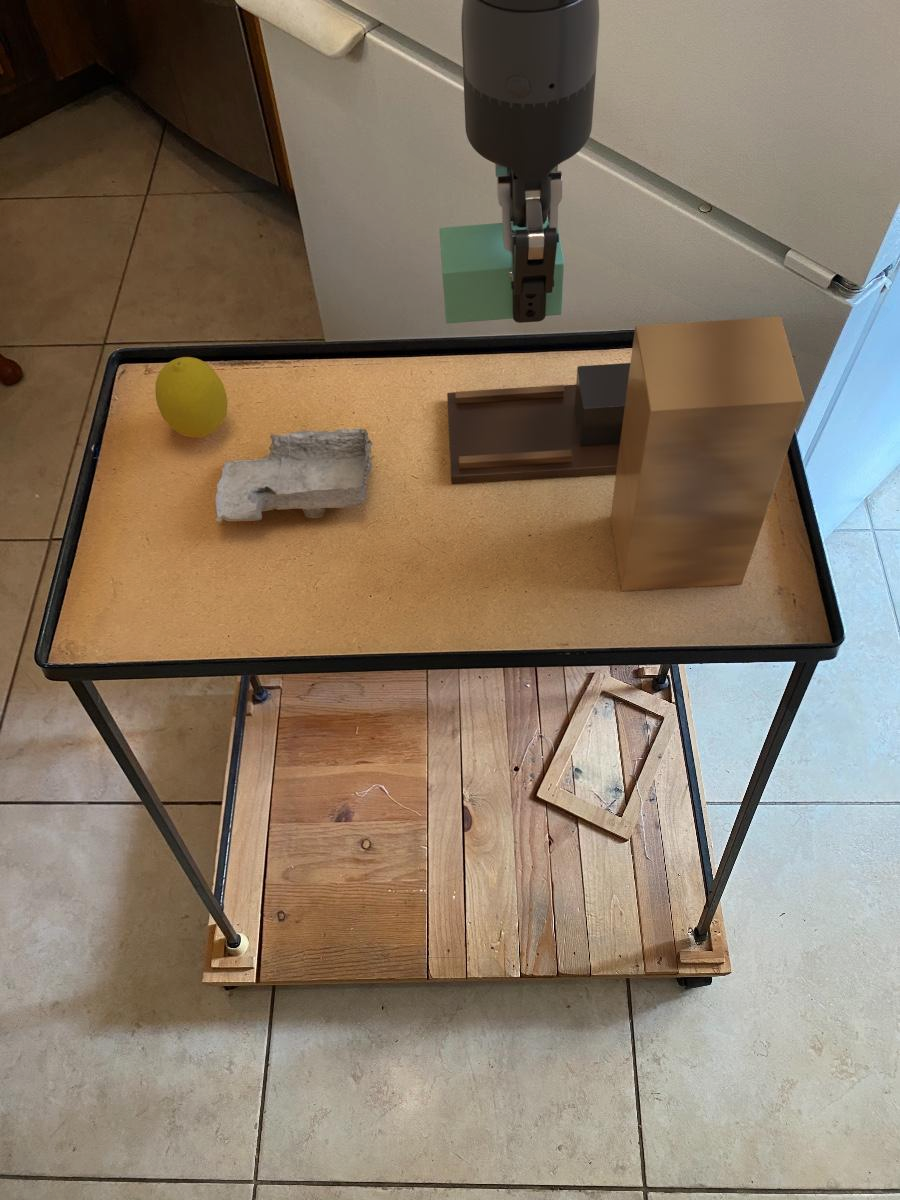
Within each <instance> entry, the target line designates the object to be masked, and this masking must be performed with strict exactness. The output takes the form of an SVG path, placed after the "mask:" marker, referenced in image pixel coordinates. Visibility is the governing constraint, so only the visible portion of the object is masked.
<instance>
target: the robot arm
mask: <svg viewBox="0 0 900 1200" xmlns="http://www.w3.org/2000/svg"><path fill="white" fill-rule="evenodd" d="M461 8H462V9H461V19H460V20H461V21H460V23H461V24H460V25H461V26H460V27H461V50H462V51H461V53H462V76H463V100H464V101H463V102H464V125H465V126H464V127H465V134H466V137H467V141H468V142H469V143H470V146H471V147H472V149H473V150H474V151H475V152H476V153H477V154H479V156H481V157H482V158H484V159H485V160H487V161H489V162H491V163H493V164H494V170H495V178H496V185H497V186H496V188H497V189H496V190H497V200H498V205H499V206H500V207H501V223H502V231H503V243H504V247H505V249H506V250H507V251H509V252H511V270H509V277H510V278H512V281H511V289H513V321H514V322H515V323H518V324H521V323H539V322H541V321H543V320H545V319H546V316H545V314H546V293H552V288H553V287H554V279H553V278H554V269H555V259H556V249H557V242H559V234H560V233H559V234H558V227H559V204H560V203H561V201H562V199H563V173H562V170H558V169H559V165H560V164H562V163H563V162H565V161H567V160H569V159H571V158H573V157H574V156H575V155H576V154H578V153H579V152H580V151H581V150H582V149H583V147H585V145H586V144H587V142H588V140H589V138H590V136H591V133H592V130H593V118H594V103H595V89H596V75H597V62H598V61H597V60H598V48H599V47H598V46H599V34H600V33H599V32H600V31H599V30H600V2H599V0H462V7H461ZM547 219H548V225H547V227H546V228H544V229H543V224H545V222H546V220H547ZM511 222H513V226H518V227H521V228H523V227H526V229H523V230H515V231H514V230H512V228H511Z"/></svg>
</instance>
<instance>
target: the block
mask: <svg viewBox="0 0 900 1200" xmlns="http://www.w3.org/2000/svg"><path fill="white" fill-rule="evenodd" d="M547 225H548V218H547V220H546V222H545V224H543V229H544V228H546V227H547ZM511 228H512V230H514V231H515V230H523V229H526V227H523V228H521V227H518V226H513V222H511ZM438 231H439V244H440V245H439V247H440V258H441V259H440V261H441V275H442V286H443V287H442V288H443V298H444V299H443V300H444V314H445V323H446V324H447V325H448V324H459V323H461V324H462V323H474V322H488V321H498V320H499V321H500V320H512V319H513V289H511V281H512V278H510V277H509V270H511V252H509V251H507V250H506V249H505V247H504V243H503V231H502V222H496V223H483V224H470V225H458V226H457V225H456V226H445V227H439V229H438ZM558 234H559V242H557V249H556V259H555V269H554V278H553V279H554V287H553V288H552V293H546V314H545V317H551V316H561V315H562V314H563V297H564V294H563V293H564V276H565V260H564V253H563V248H562V241H561V233H560V229H559V226H558ZM513 320H514V319H513Z"/></svg>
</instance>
